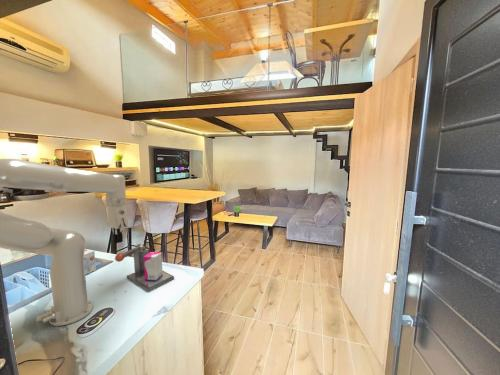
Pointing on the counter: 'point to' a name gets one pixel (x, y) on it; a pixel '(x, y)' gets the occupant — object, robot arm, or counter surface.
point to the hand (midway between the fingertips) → (118, 242)
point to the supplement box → (153, 266)
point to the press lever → (129, 252)
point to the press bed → (139, 274)
